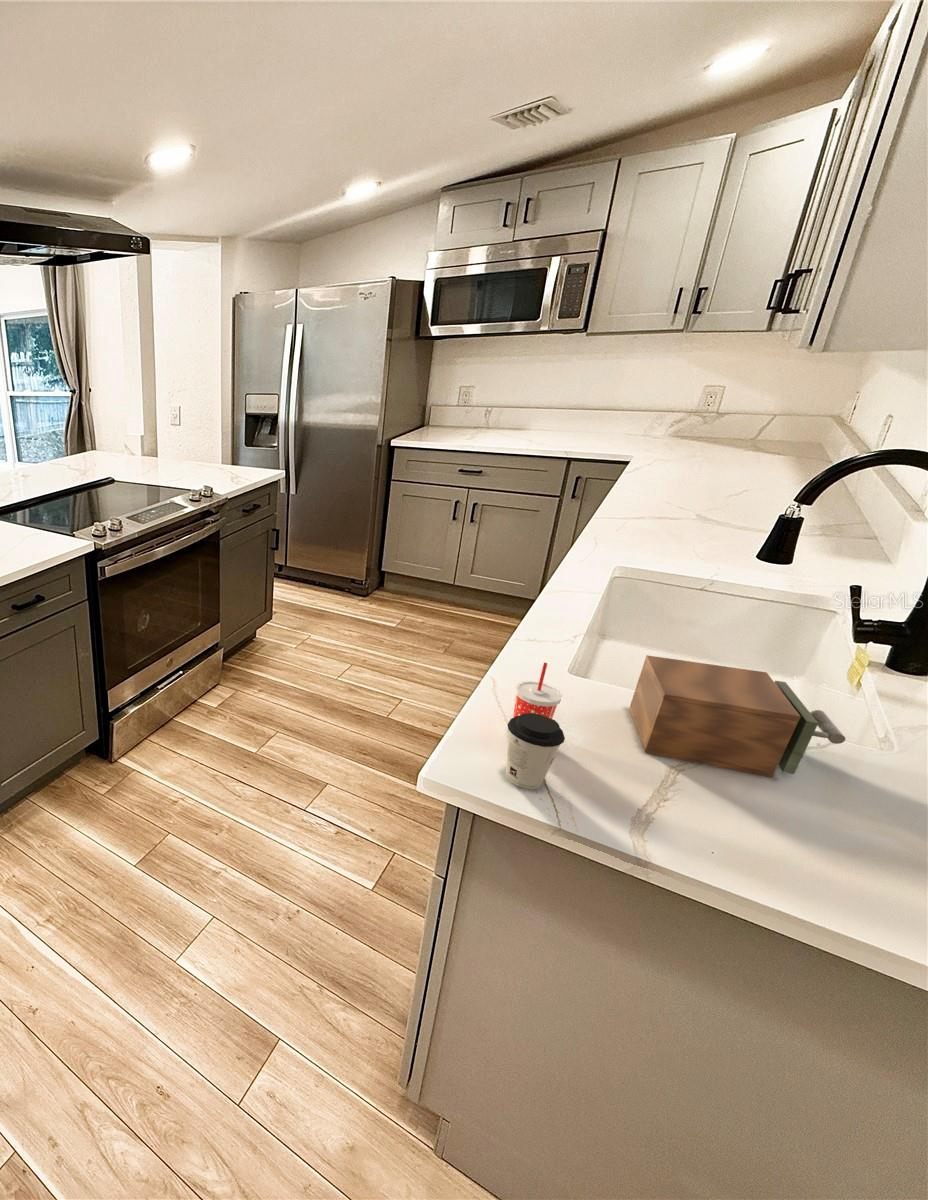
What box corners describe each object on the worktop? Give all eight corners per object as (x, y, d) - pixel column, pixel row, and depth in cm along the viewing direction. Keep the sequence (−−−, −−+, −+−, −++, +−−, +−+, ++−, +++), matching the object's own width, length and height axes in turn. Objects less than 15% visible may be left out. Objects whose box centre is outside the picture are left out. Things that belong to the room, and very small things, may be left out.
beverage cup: (526, 723, 102) (544, 650, 97) (558, 745, 97) (580, 669, 91) (496, 731, 101) (512, 657, 95) (527, 753, 95) (547, 677, 90)
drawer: (803, 736, 94) (826, 687, 90) (837, 782, 85) (864, 730, 81) (655, 710, 102) (671, 665, 98) (672, 750, 93) (690, 702, 89)
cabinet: (742, 729, 98) (766, 672, 93) (772, 777, 88) (800, 716, 83) (628, 709, 104) (646, 655, 100) (644, 752, 94) (664, 694, 90)
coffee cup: (503, 791, 88) (517, 734, 84) (491, 760, 95) (503, 706, 91) (558, 797, 87) (575, 740, 83) (542, 766, 93) (557, 711, 89)
